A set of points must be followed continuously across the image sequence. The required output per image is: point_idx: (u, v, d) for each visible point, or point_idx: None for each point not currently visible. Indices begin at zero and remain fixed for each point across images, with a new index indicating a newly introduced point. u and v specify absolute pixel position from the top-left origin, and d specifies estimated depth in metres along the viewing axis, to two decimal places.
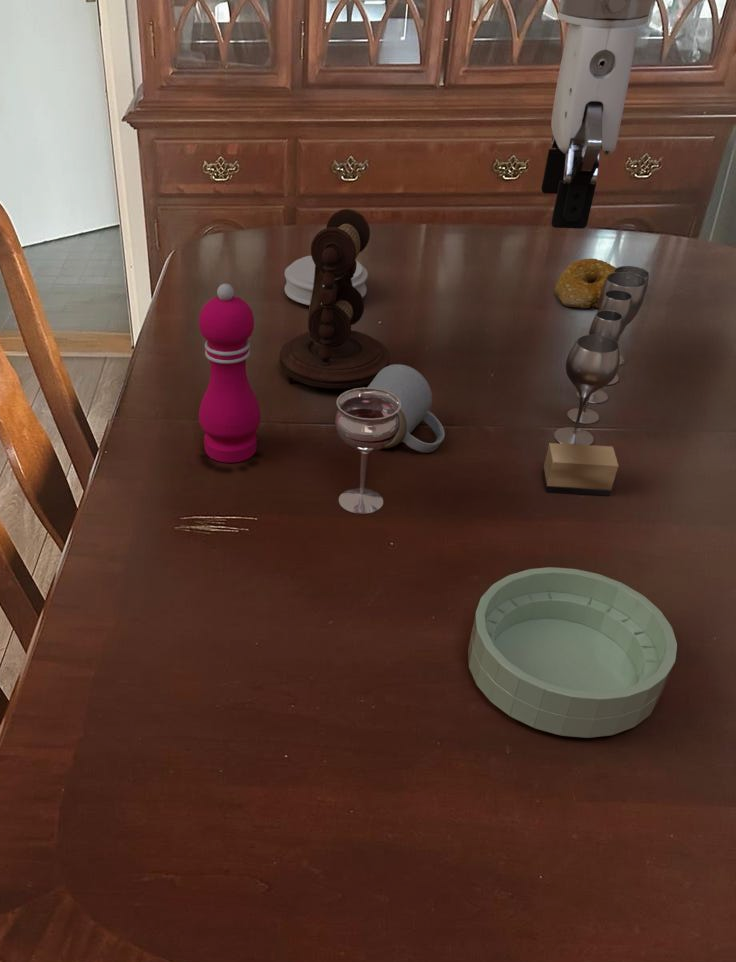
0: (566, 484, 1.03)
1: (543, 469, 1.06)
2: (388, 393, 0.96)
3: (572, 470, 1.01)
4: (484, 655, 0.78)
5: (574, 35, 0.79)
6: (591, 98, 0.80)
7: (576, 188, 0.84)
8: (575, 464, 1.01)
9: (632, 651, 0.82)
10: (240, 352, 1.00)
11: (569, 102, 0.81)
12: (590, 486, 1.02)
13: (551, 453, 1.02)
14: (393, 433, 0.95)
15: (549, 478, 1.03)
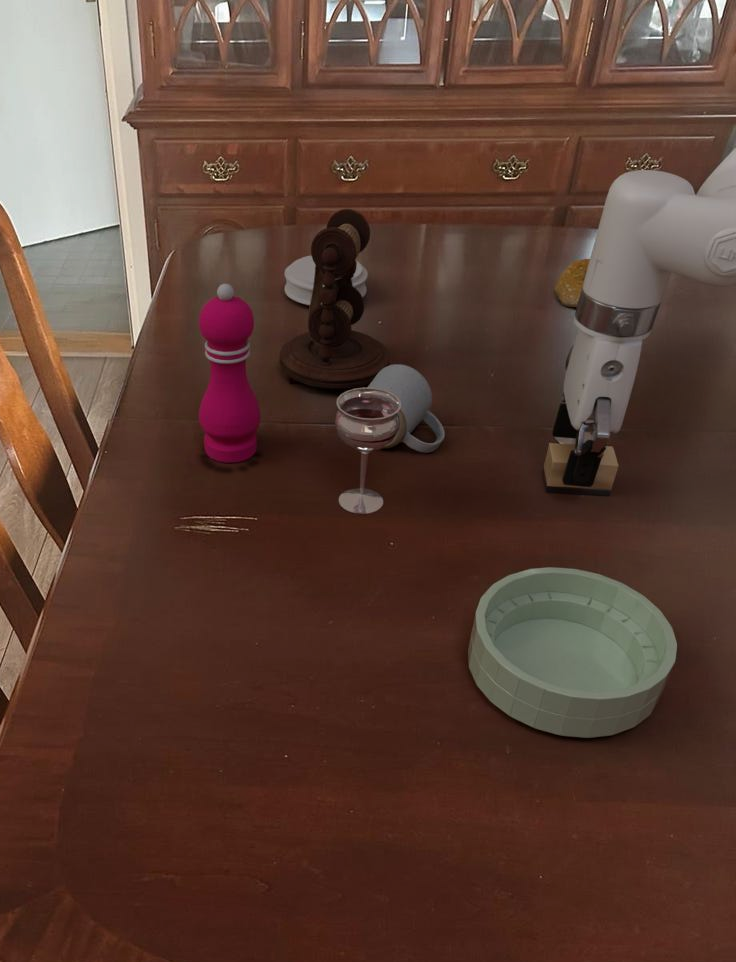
0: None
1: (543, 469, 1.06)
2: (388, 393, 0.96)
3: None
4: (484, 655, 0.78)
5: (588, 341, 0.91)
6: (601, 394, 0.92)
7: (585, 459, 0.96)
8: None
9: (632, 651, 0.82)
10: (240, 352, 1.00)
11: (582, 394, 0.93)
12: None
13: (551, 453, 1.02)
14: (393, 433, 0.95)
15: (549, 478, 1.03)
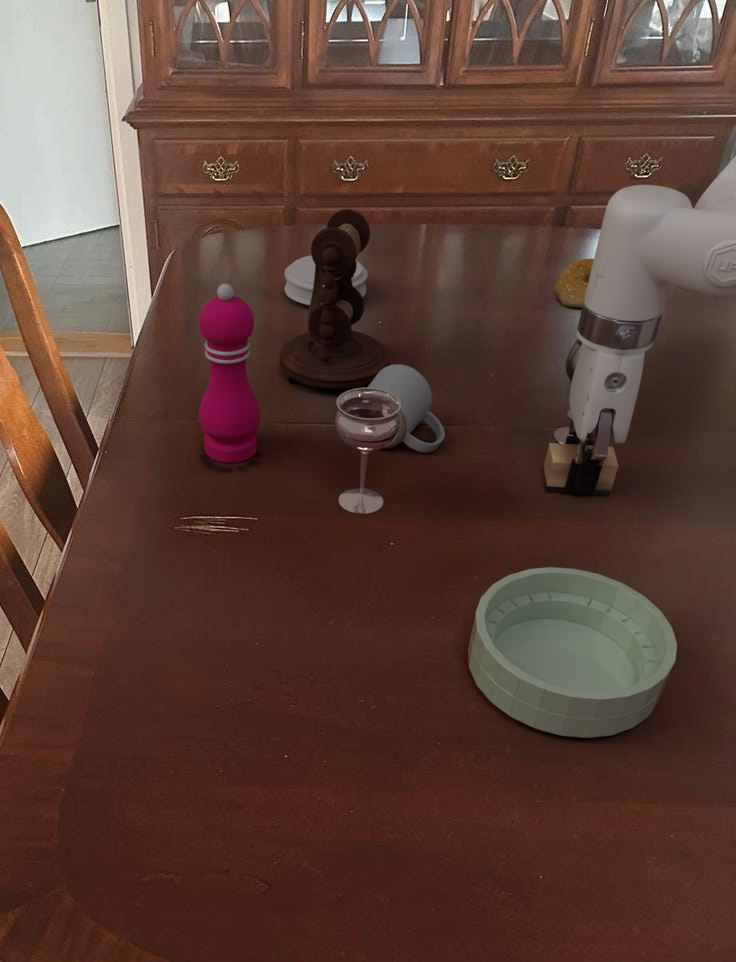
0: None
1: (543, 469, 1.06)
2: (388, 393, 0.96)
3: None
4: (484, 655, 0.78)
5: (591, 354, 0.92)
6: (605, 406, 0.93)
7: (586, 467, 0.99)
8: None
9: (632, 651, 0.82)
10: (240, 352, 1.00)
11: (586, 406, 0.94)
12: None
13: (551, 453, 1.02)
14: (393, 433, 0.95)
15: (549, 478, 1.03)
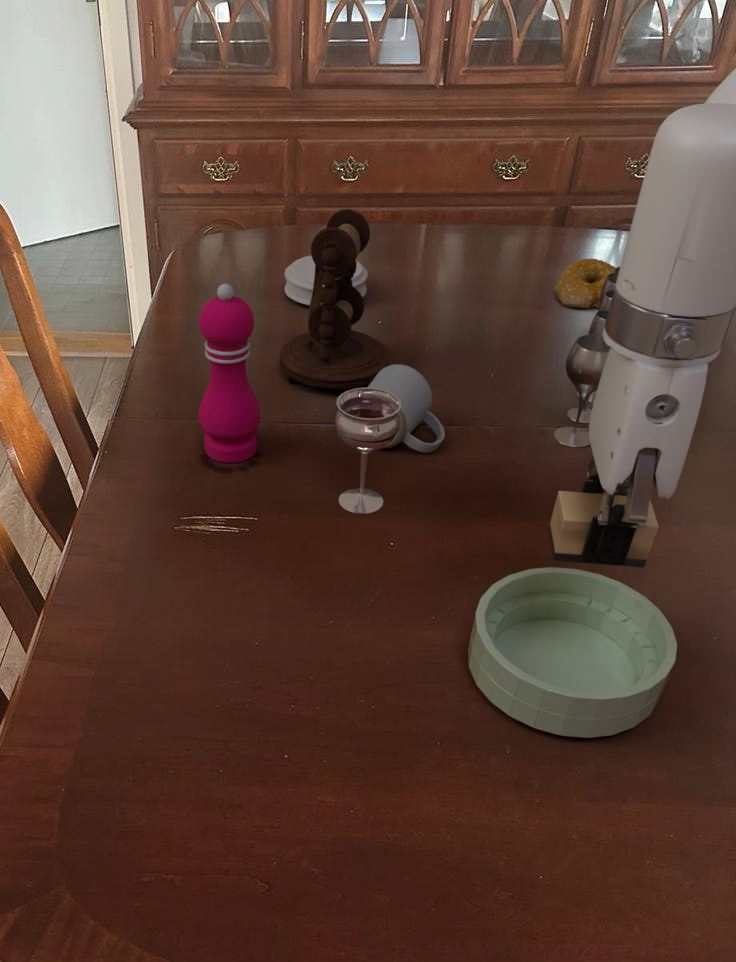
0: (582, 551, 0.72)
1: (549, 527, 0.75)
2: (388, 393, 0.96)
3: None
4: (484, 655, 0.78)
5: (625, 366, 0.61)
6: (646, 444, 0.62)
7: (613, 530, 0.69)
8: None
9: (632, 651, 0.82)
10: (240, 352, 1.00)
11: (617, 444, 0.63)
12: None
13: (561, 506, 0.72)
14: (393, 433, 0.95)
15: (558, 542, 0.72)
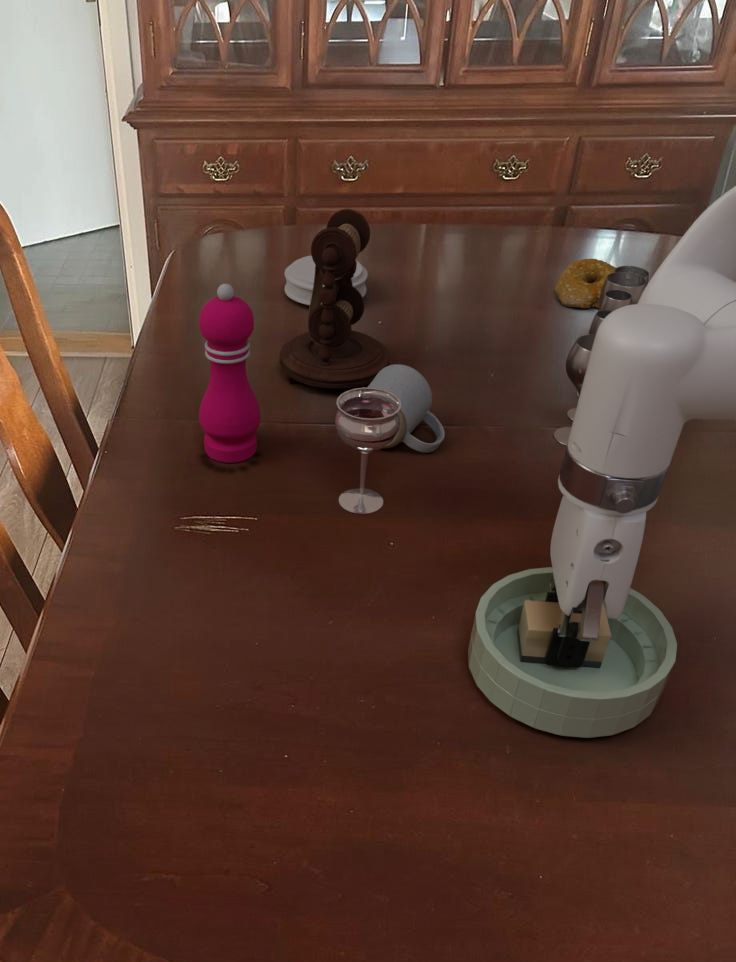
0: None
1: (518, 629, 0.85)
2: (388, 393, 0.96)
3: None
4: (484, 655, 0.78)
5: (577, 512, 0.71)
6: (595, 577, 0.72)
7: (571, 640, 0.79)
8: None
9: (632, 651, 0.82)
10: (240, 352, 1.00)
11: (571, 576, 0.73)
12: None
13: (527, 616, 0.81)
14: (393, 433, 0.95)
15: (524, 647, 0.82)
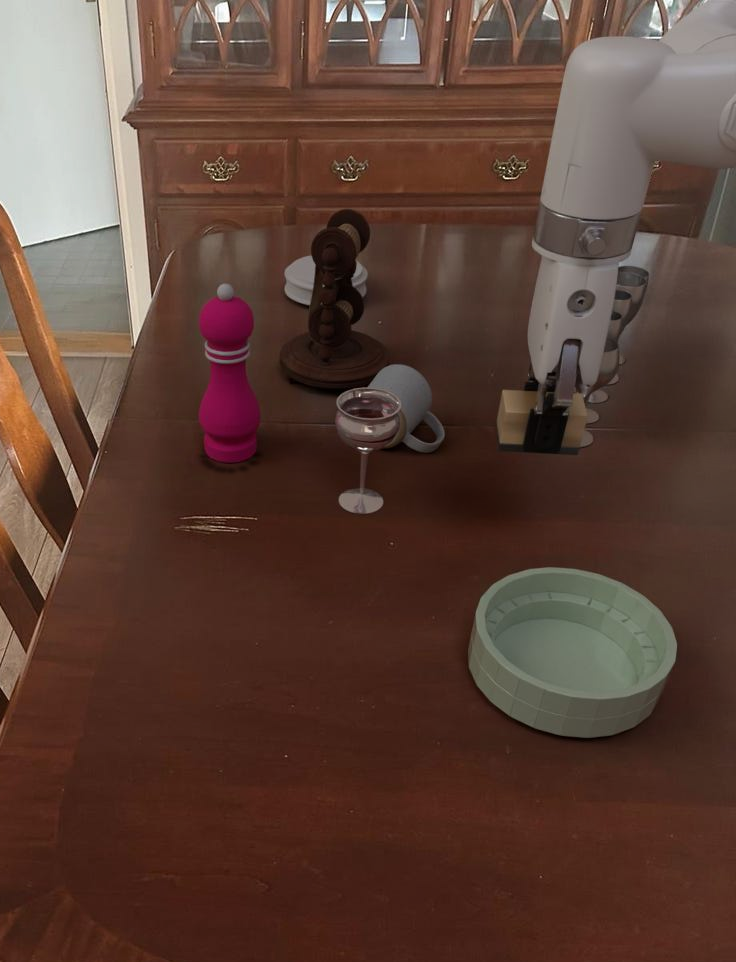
0: (523, 440, 0.82)
1: (496, 424, 0.85)
2: (388, 393, 0.96)
3: None
4: (484, 655, 0.78)
5: (550, 268, 0.72)
6: (569, 335, 0.72)
7: (548, 419, 0.79)
8: None
9: (632, 651, 0.82)
10: (240, 352, 1.00)
11: (545, 337, 0.73)
12: None
13: (504, 402, 0.82)
14: (393, 433, 0.95)
15: (502, 433, 0.82)
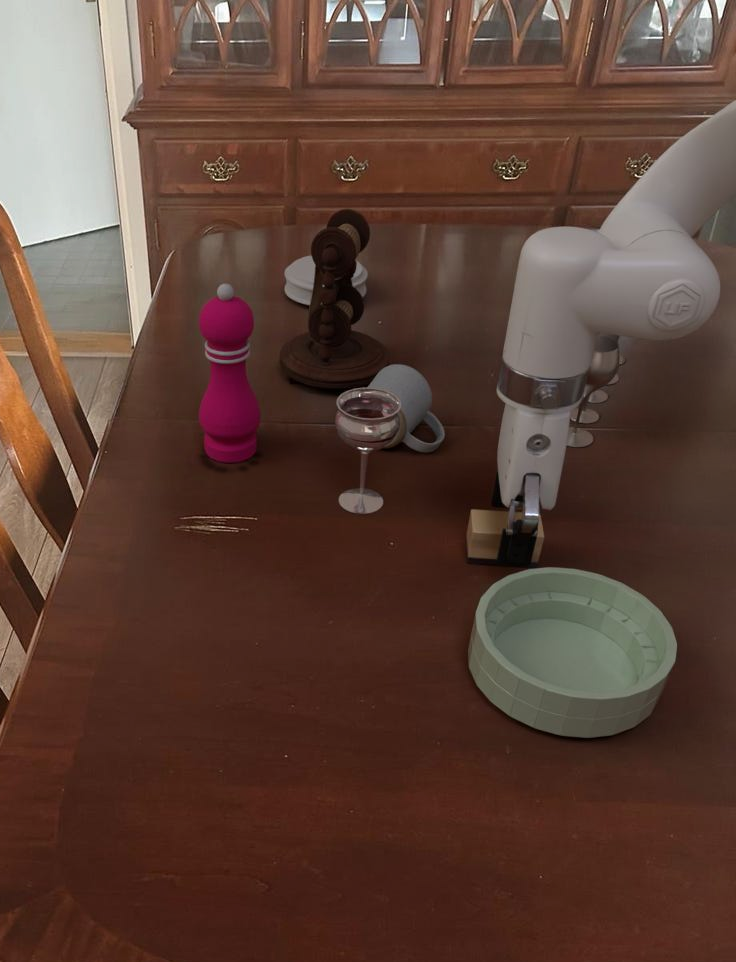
0: (489, 555, 0.93)
1: (466, 536, 0.97)
2: (388, 393, 0.96)
3: (495, 541, 0.92)
4: (484, 655, 0.78)
5: (512, 413, 0.82)
6: (529, 470, 0.83)
7: (518, 539, 0.87)
8: (497, 535, 0.92)
9: (632, 651, 0.82)
10: (240, 352, 1.00)
11: (508, 470, 0.84)
12: None
13: (472, 521, 0.93)
14: (393, 433, 0.95)
15: (470, 549, 0.93)
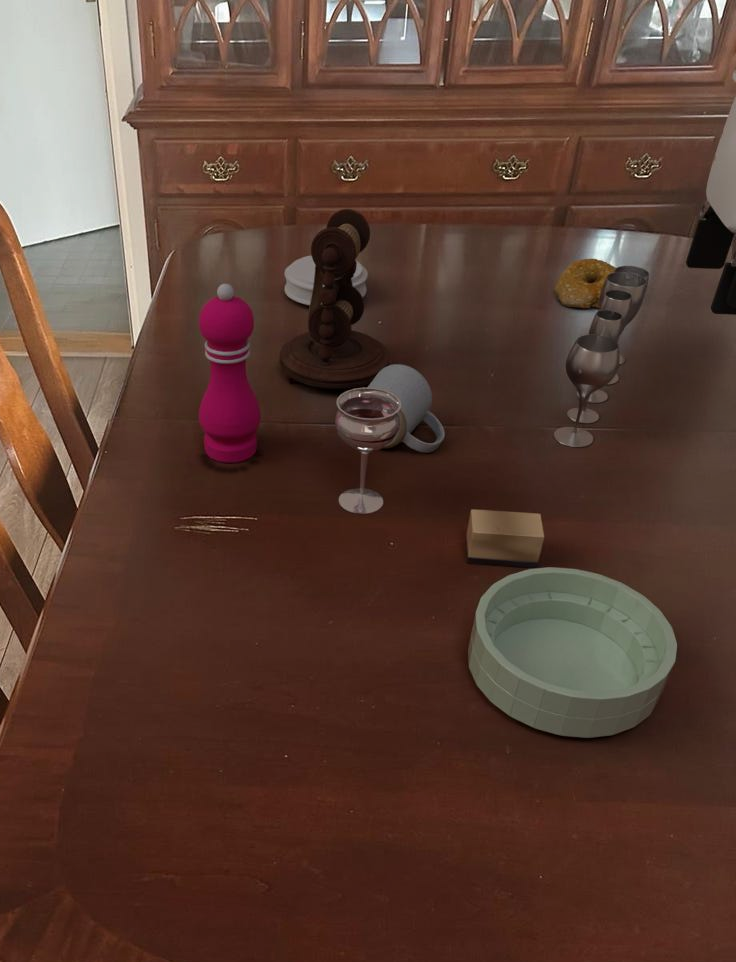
0: (489, 555, 0.93)
1: (466, 536, 0.97)
2: (388, 393, 0.96)
3: (495, 541, 0.92)
4: (484, 655, 0.78)
5: None
6: None
7: None
8: (497, 535, 0.92)
9: (632, 651, 0.82)
10: (240, 352, 1.00)
11: None
12: (515, 558, 0.93)
13: (472, 521, 0.93)
14: (393, 433, 0.95)
15: (470, 549, 0.93)
